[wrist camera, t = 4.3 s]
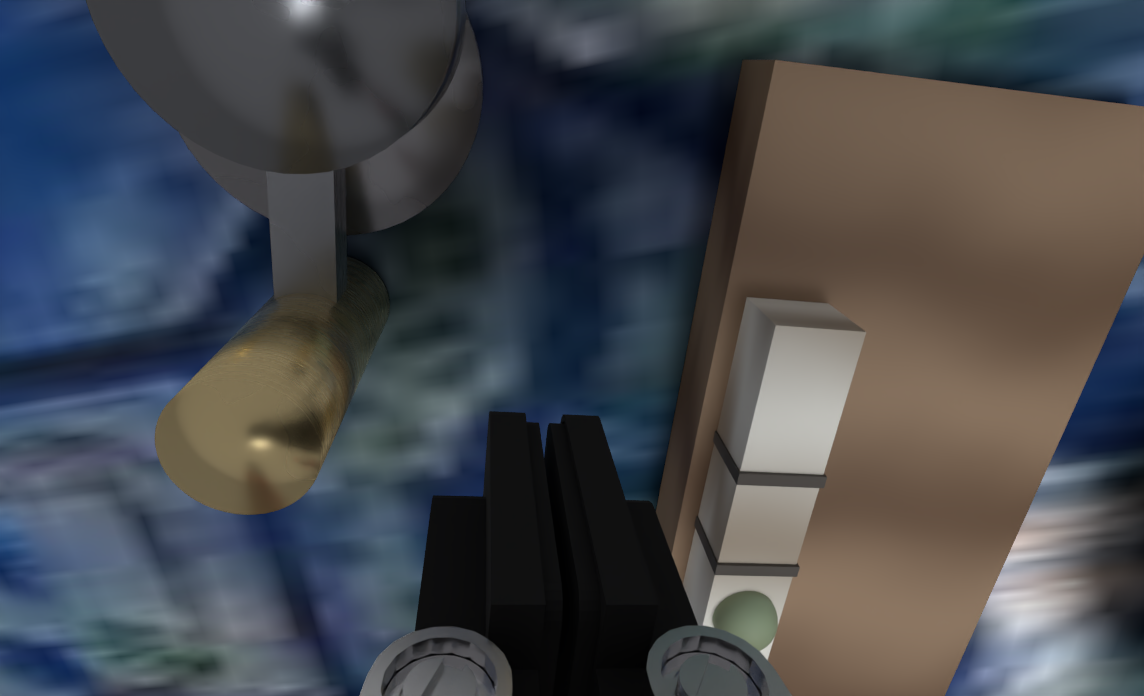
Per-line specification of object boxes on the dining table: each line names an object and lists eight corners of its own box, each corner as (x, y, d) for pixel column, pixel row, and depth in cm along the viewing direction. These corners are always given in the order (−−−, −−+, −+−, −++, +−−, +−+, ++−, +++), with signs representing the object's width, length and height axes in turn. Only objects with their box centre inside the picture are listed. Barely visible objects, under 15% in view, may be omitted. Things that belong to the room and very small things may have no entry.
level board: (742, 59, 15) (836, 60, 11) (1129, 108, 17) (1348, 126, 12) (621, 691, 23) (648, 836, 19) (891, 690, 24) (975, 826, 20)
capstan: (-88, -334, 11) (-816, -820, 5) (686, -198, 13) (853, -434, 7) (48, 326, 16) (-247, 499, 10) (606, 362, 18) (662, 527, 12)
